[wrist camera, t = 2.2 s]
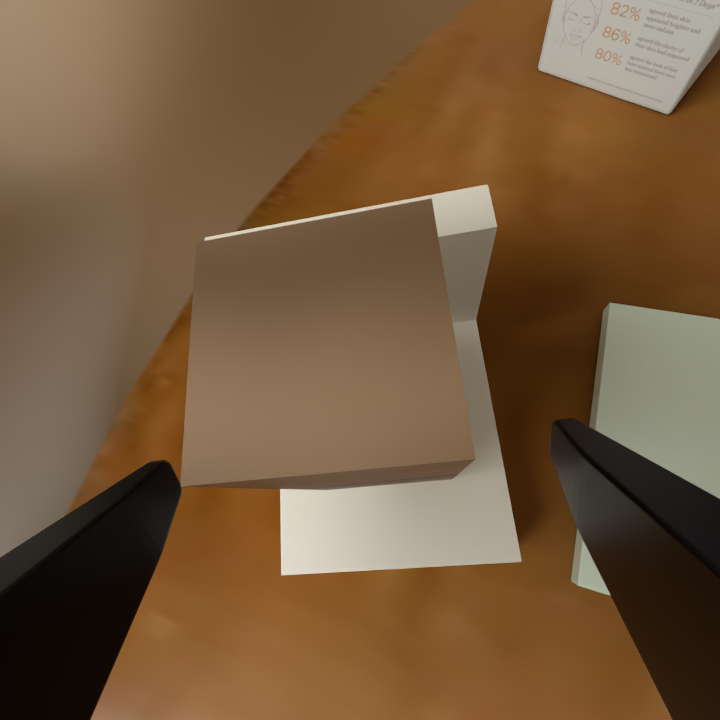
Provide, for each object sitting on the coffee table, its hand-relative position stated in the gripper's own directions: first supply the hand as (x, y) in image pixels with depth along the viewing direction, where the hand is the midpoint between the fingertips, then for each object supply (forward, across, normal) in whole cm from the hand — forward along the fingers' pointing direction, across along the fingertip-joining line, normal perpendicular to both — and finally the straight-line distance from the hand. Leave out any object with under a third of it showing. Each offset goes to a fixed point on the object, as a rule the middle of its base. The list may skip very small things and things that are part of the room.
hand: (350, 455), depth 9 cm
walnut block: (+6, 0, +4) cm, 8 cm away
